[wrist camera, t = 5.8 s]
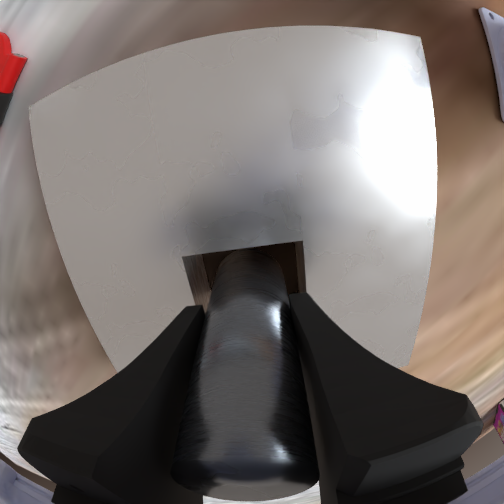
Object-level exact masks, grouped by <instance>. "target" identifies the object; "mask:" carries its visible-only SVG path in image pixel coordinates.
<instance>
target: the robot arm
mask: <svg viewBox="0 0 504 504" xmlns="http://www.w3.org/2000/svg"><path fill="white" fill-rule="evenodd" d="M479 14H480V17H481V20H482V23H483V26H484V30H485V33H486V36H487V40H488V44H489V47H490V51H491V56H492V60H493V65H494V69H495V75H496V80H497V86H498V93H499V100H500V109H501V117H502V120H503V121H504V18H503V17H501V16H499V15H497V14H495V13H494V12H492V11H490V10H488V9H486V8H484V7H482V8H479ZM289 303H290V311H291V316H292V321H293V326H294V330H295V335H296V340H297V345H298V350H299V356H300V361H301V366H302V372H303V377H304V383H305V388H306V394H307V400H308V405H309V411H310V417H311V423H312V429H313V435H314V441H315V447H316V454H317V460H318V467H319V473H320V478H319V487H320V497H321V504H504V455H503V456H502V457H500V458H499V459H498V460H496V461H495V462H493V463H492V464H490V465H489V466H487V467H486V468H484V469H482V470H481V471H479V472H477V473H476V474H474V475H472V476H470V477H469V478H467V479H465V480H464V478H463V476H462V473H461V469H462V468H463V467H464V462H463V460H462V458H461V455H462V454H463V453H464V452H465V451H466V450H467V449H468V448H469V447H470V446H471V444H472V443H473V442H474V441H475V440H476V439H477V437H478V436H479V435H480V433H481V430H482V428H483V423H482V421H481V419H480V417H479V415H478V413H477V411H476V409H475V407H474V405H473V404H472V402H471V401H470V400H469V398H468V397H467V395H465V394H462V393H458V392H455V391H452V390H448V389H445V388H442V387H439V386H436V385H433V384H430V383H428V382H426V381H423V380H421V379H418V378H416V377H414V376H412V375H410V374H407V373H405V372H403V371H402V370H400V369H398V368H396V367H394V366H392V365H390V364H389V363H387V362H385V361H383V360H382V359H380V358H378V357H377V356H375V355H374V354H372V353H371V352H370V351H368V350H367V349H365V348H364V347H363V346H361V345H360V344H359V343H357V342H356V341H355V340H354V339H353V338H351V337H350V336H349V335H348V334H347V333H345V332H344V331H343V330H342V329H341V328H340V327H339V326H338V325H337V324H336V323H335V322H334V321H333V320H332V319H331V318H330V317H329V316H328V315H327V314H326V313H325V312H324V311H323V310H322V309H321V308H320V307H319V306H318V304H317V303H316V302H315V301H314V300H313V298H312V297H311V296H310V295H309V294H308V293H307V292H303V293H295V294H289ZM204 319H205V312H204V308H203V305H193V306H186V307H185V308H184V309H183V310H182V311H181V312H180V313H179V314H178V315H177V316H176V317H175V318H174V320H173V321H172V322H171V323H170V324H169V325H168V326H167V327H166V328H165V329H164V330H163V331H162V333H161V334H160V335H159V336H158V337H157V338H156V339H155V340H154V341H153V342H152V343H151V344H150V345H149V346H148V347H147V348H146V349H145V350H144V351H143V352H142V353H141V354H139V355H138V356H137V357H136V358H135V359H134V360H133V361H132V362H131V363H130V364H128V365H127V366H126V367H125V368H123V369H122V370H121V371H120V372H118V373H117V374H116V375H115V376H113V377H112V378H110V379H109V380H107V381H106V382H104V383H103V384H101V385H100V386H98V387H97V388H95V389H94V390H92V391H91V392H89V393H87V394H86V395H84V396H82V397H80V398H78V399H77V400H75V401H73V402H71V403H69V404H67V405H65V406H62V407H60V408H58V409H56V410H53V411H51V412H48V413H45V414H43V415H40V416H37V417H34V418H32V420H31V421H30V423H29V425H28V427H27V429H26V431H25V433H24V435H23V437H22V440H21V442H20V444H19V446H18V448H17V449H18V452H19V454H20V455H21V456H22V457H23V458H24V459H25V460H26V461H27V462H28V463H29V464H30V465H32V466H33V467H34V468H35V469H37V470H38V471H39V472H41V473H42V474H43V475H45V476H46V477H47V478H49V479H50V480H52V481H53V482H55V483H56V484H57V485H56V488H55V491H54V493H53V492H51V491H49V490H47V489H45V488H43V487H41V486H39V485H37V484H35V483H34V482H32V481H30V480H28V479H27V478H25V477H23V476H21V475H20V474H18V473H17V472H16V471H15V470H14V469H12V468H11V467H10V466H9V465H7V464H6V463H5V462H3V461H2V460H1V459H0V504H203V495H201V494H198V493H195V492H193V491H190V490H188V489H186V488H184V487H182V486H181V485H179V484H178V483H177V482H175V481H174V480H173V478H172V477H171V474H170V471H171V466H172V461H173V456H174V451H175V446H176V441H177V436H178V432H179V427H180V422H181V418H182V413H183V408H184V404H185V399H186V395H187V390H188V386H189V381H190V377H191V373H192V368H193V364H194V360H195V356H196V352H197V347H198V343H199V339H200V335H201V331H202V327H203V323H204Z"/></svg>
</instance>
